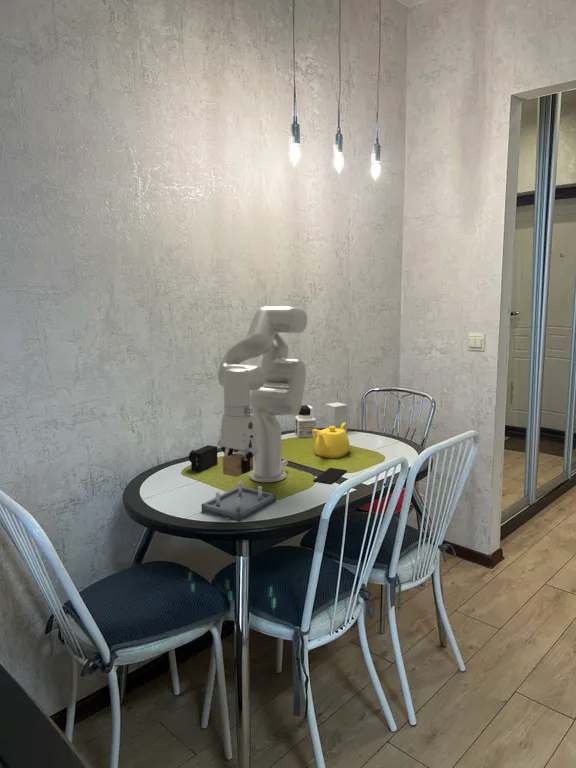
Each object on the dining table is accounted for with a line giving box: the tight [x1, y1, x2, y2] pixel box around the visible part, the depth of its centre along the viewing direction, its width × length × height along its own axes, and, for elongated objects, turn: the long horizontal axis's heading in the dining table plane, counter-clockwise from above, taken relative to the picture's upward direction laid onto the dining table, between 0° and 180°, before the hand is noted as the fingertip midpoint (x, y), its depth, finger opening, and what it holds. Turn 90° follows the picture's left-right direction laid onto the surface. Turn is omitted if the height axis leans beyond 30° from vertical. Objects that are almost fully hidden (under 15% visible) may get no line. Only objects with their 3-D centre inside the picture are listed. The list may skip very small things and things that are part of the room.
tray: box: [201, 481, 277, 523], centre depth 168 cm, size 18×14×5 cm
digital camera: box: [188, 444, 219, 473], centre depth 204 cm, size 10×5×7 cm, turn 152°
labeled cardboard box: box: [222, 450, 254, 478], centre depth 165 cm, size 8×5×5 cm, turn 147°
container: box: [294, 404, 317, 438], centre depth 247 cm, size 8×8×13 cm
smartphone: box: [312, 467, 348, 485], centre depth 194 cm, size 7×1×15 cm
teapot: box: [312, 422, 351, 459], centre depth 220 cm, size 22×16×11 cm
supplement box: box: [325, 401, 348, 433], centre depth 252 cm, size 7×7×13 cm
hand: (238, 470), depth 166 cm, fingers closed on labeled cardboard box, 5 cm apart
